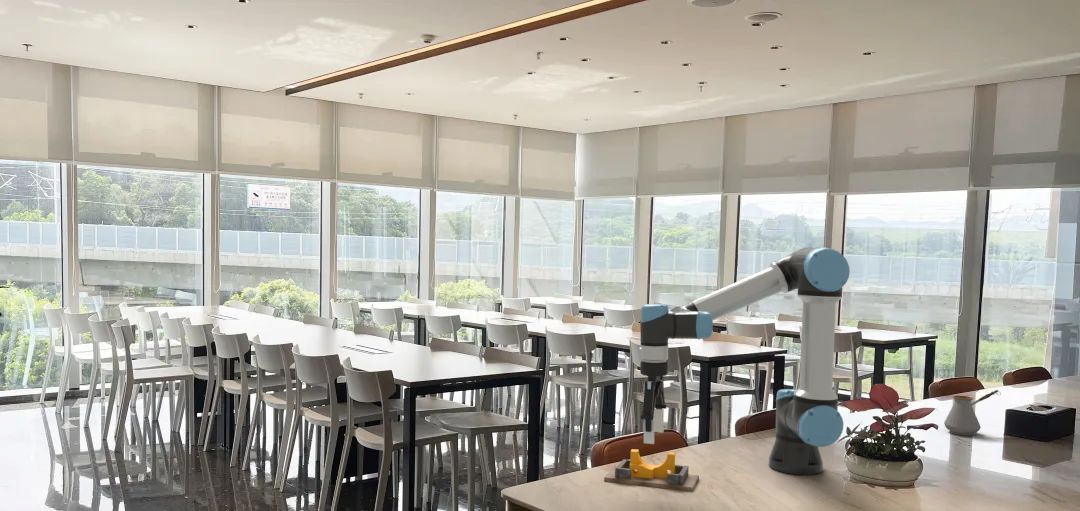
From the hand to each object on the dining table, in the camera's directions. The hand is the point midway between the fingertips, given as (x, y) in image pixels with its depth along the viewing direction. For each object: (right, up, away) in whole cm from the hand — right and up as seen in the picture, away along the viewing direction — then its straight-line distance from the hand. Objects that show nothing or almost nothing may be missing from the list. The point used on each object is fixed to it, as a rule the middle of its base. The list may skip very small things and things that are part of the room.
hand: (653, 437), depth 218 cm
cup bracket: (-1, -12, 0) cm, 12 cm away
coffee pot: (+124, -13, +66) cm, 141 cm away
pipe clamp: (0, -11, 0) cm, 11 cm away
